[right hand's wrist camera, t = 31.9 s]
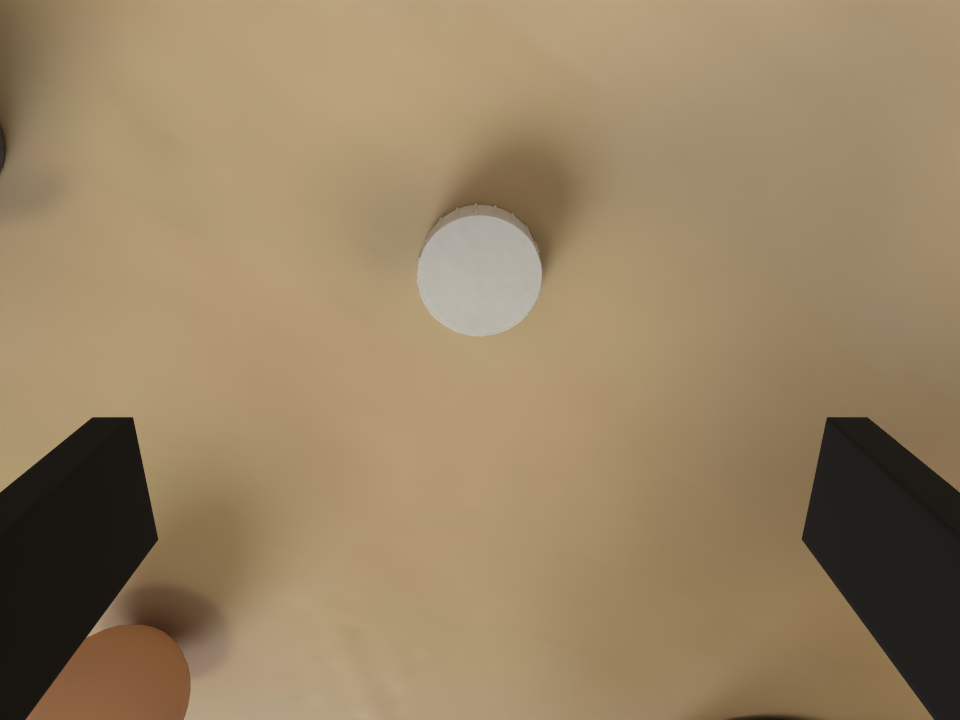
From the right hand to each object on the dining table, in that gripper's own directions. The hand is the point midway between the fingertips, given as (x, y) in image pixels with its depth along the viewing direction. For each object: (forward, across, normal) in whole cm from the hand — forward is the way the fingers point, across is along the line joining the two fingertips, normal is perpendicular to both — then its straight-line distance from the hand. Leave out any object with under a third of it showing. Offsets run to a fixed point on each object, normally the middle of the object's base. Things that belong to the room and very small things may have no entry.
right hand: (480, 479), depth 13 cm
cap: (+12, 0, -1) cm, 12 cm away
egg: (+14, +16, +17) cm, 28 cm away
